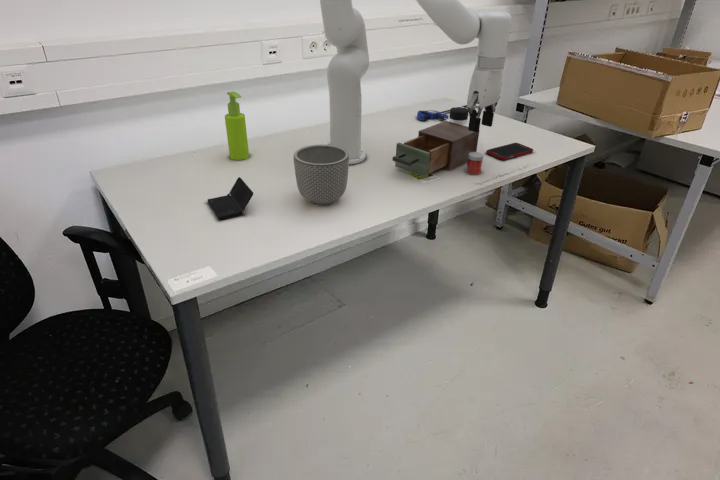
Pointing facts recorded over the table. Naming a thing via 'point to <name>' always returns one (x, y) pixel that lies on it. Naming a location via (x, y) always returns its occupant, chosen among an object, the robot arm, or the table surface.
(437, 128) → the cabinet
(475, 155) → the shaker
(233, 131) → the soap dispenser
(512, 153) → the cell phone
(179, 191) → the table surface
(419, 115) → the bar clamp
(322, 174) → the planter
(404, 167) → the drawer
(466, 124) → the medicine bottle
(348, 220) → the table surface
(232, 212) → the handheld gaming console
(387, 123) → the table surface
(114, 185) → the table surface
